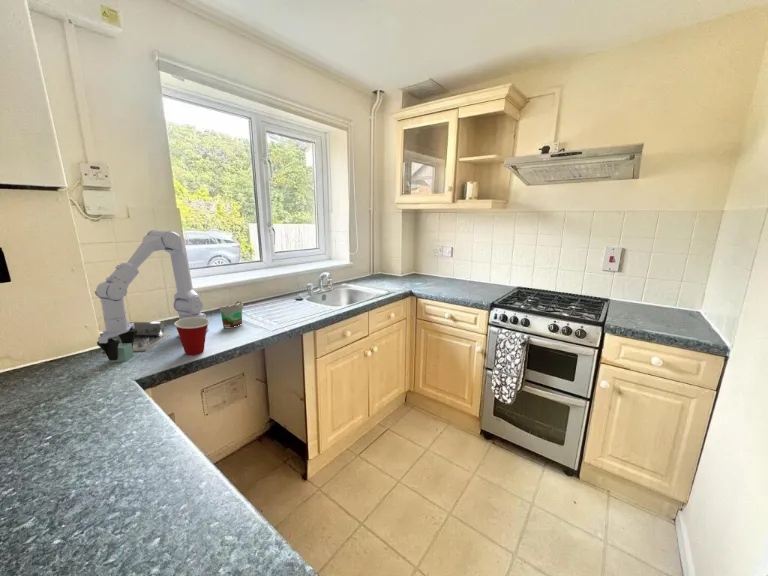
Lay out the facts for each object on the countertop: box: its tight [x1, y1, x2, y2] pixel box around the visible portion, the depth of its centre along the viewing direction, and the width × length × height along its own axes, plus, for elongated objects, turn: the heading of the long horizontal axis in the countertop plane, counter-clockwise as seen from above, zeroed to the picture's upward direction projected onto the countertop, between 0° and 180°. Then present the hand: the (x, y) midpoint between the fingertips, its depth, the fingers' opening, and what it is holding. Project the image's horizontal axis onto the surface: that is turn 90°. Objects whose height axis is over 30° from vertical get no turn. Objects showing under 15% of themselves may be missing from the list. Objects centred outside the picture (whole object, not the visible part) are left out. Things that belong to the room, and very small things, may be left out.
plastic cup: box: [174, 317, 210, 356], centre depth 114 cm, size 11×11×12 cm
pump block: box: [109, 343, 134, 363], centre depth 108 cm, size 5×4×5 cm
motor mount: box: [102, 321, 171, 353], centre depth 122 cm, size 14×16×7 cm
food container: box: [219, 300, 245, 328], centre depth 144 cm, size 12×6×10 cm, turn 168°
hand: (121, 355), depth 108 cm, fingers open, 7 cm apart
